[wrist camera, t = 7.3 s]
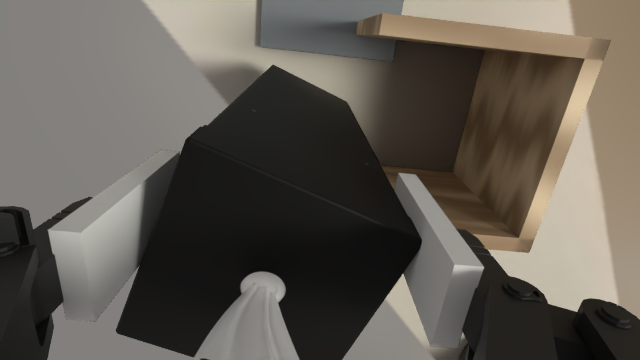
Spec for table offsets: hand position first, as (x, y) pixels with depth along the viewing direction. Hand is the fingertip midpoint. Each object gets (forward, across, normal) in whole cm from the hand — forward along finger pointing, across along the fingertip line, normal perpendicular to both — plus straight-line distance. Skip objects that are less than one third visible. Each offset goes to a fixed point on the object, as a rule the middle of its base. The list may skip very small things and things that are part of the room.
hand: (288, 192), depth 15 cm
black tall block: (+21, +1, +1) cm, 21 cm away
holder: (+23, -11, 0) cm, 26 cm away
